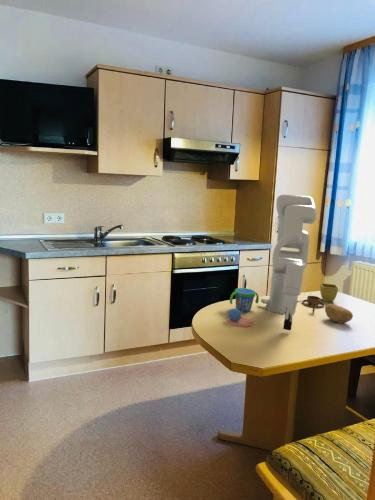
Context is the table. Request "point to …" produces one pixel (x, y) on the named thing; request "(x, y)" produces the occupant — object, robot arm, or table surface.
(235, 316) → the ball
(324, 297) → the flower pot
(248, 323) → the disc
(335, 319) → the potato
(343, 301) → the table surface
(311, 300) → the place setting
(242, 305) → the snack cup
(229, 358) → the table surface
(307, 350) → the table surface
